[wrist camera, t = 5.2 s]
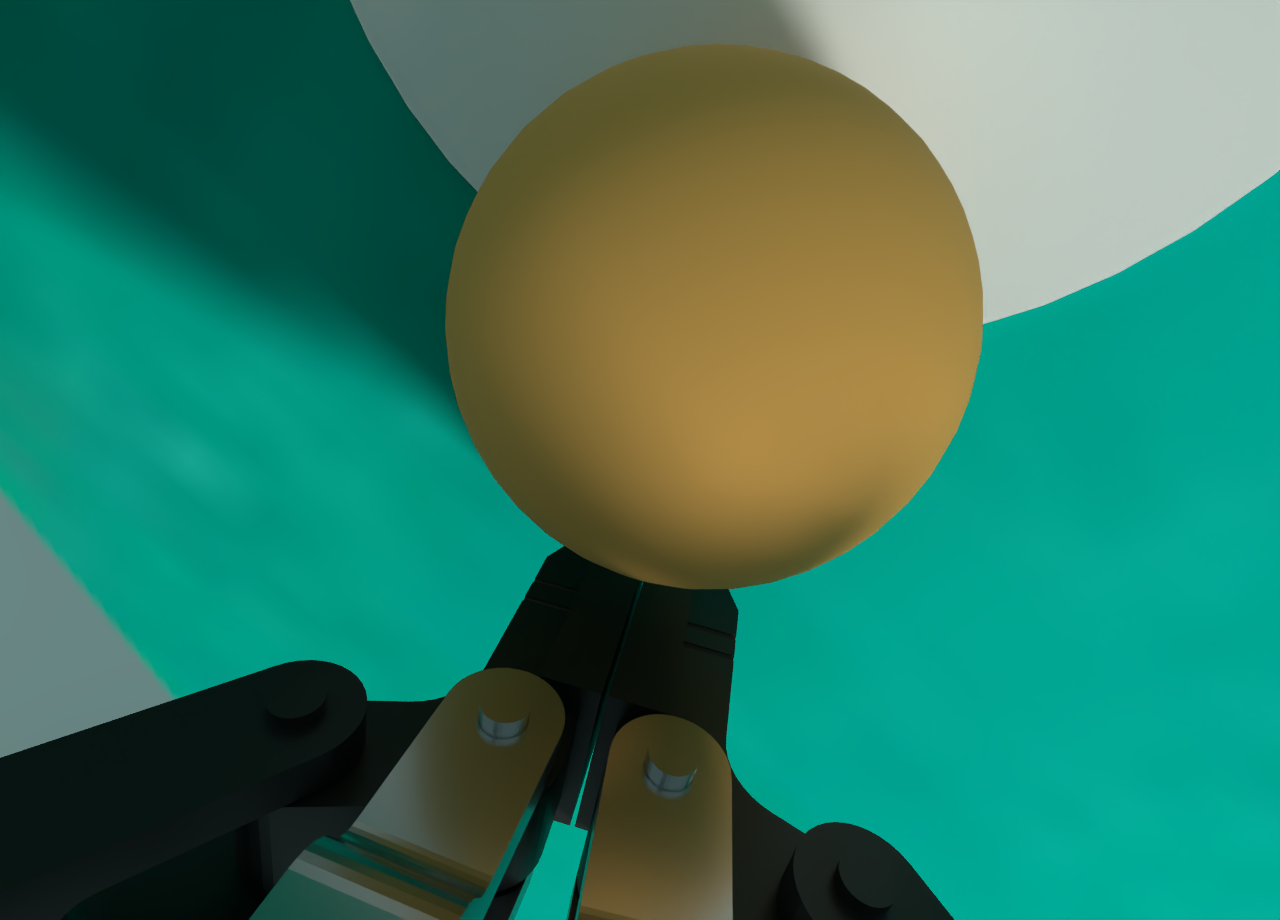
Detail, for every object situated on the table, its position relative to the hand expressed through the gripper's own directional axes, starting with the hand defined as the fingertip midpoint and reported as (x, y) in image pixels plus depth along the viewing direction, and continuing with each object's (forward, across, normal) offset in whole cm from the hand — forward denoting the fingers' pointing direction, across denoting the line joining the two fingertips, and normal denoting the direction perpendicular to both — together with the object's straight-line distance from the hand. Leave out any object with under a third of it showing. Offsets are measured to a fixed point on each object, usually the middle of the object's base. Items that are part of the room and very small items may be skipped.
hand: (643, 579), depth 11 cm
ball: (-2, 0, -4) cm, 5 cm away
